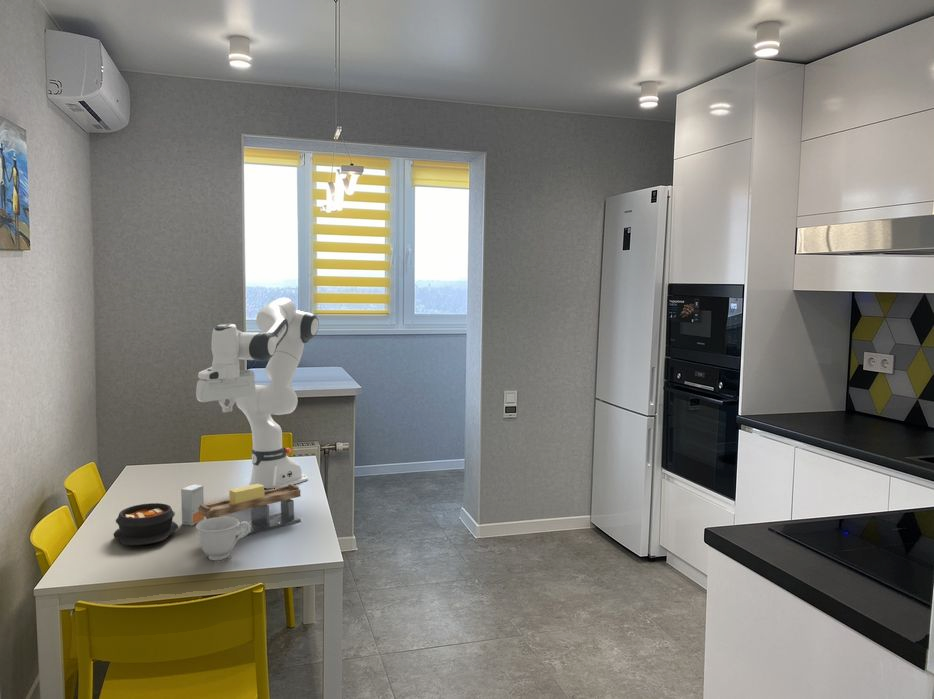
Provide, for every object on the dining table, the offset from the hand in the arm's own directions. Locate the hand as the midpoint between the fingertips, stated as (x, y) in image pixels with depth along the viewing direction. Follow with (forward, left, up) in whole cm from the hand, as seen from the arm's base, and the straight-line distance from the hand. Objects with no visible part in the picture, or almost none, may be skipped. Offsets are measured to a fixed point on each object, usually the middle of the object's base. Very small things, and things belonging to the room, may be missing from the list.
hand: (227, 411), depth 245 cm
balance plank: (+3, +21, -27) cm, 34 cm away
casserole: (+30, +4, -35) cm, 47 cm away
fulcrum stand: (+3, +21, -35) cm, 41 cm away
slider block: (+5, +21, -26) cm, 34 cm away
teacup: (+20, +36, -35) cm, 54 cm away
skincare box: (+14, +2, -35) cm, 38 cm away
